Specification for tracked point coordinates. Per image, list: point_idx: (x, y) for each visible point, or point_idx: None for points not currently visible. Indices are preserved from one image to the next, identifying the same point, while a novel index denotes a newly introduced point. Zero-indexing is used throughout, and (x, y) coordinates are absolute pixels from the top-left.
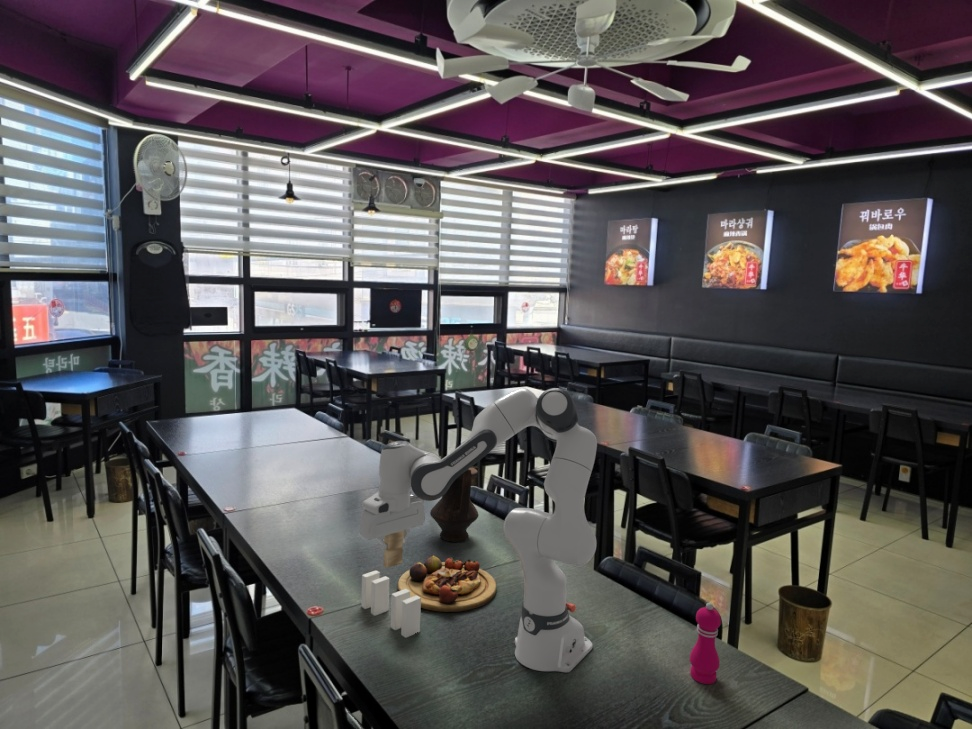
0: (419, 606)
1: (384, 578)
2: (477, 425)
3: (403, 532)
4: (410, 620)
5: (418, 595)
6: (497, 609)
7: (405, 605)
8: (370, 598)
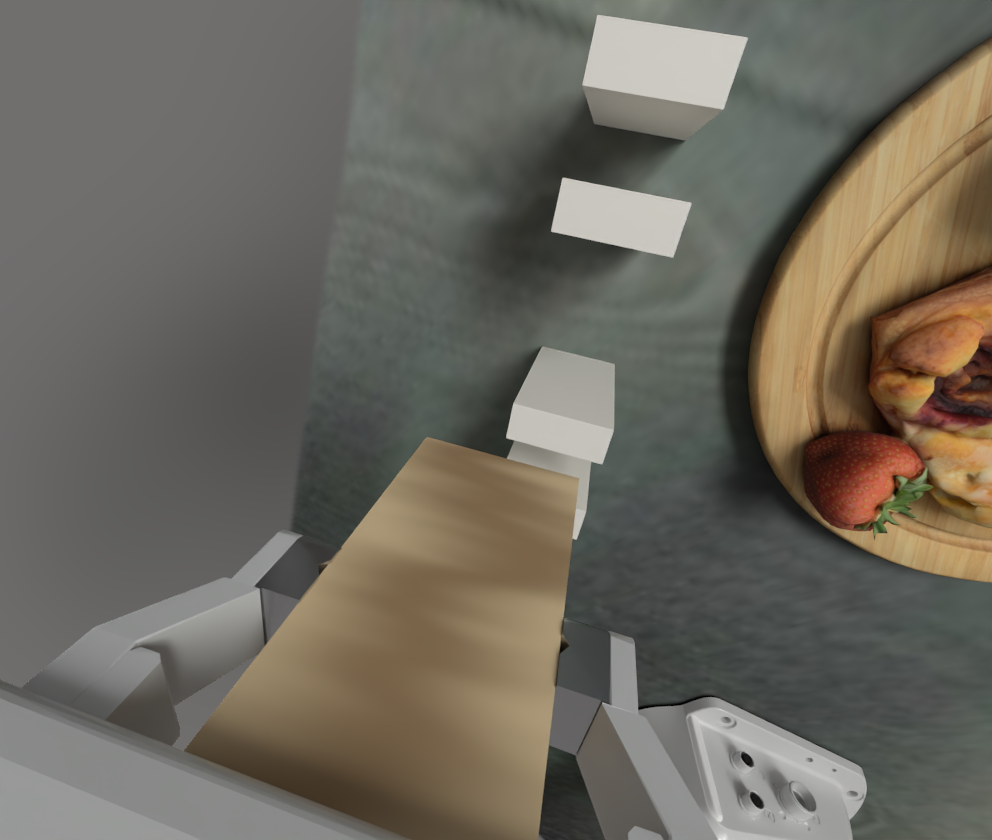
0: None
1: (651, 226)
2: None
3: (638, 803)
4: None
5: (839, 303)
6: (913, 608)
7: None
8: (627, 122)
